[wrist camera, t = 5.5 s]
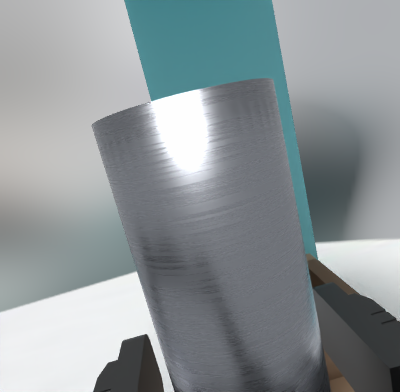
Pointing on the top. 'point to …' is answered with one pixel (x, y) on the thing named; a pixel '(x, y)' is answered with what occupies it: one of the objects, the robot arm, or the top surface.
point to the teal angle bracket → (217, 60)
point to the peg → (217, 238)
